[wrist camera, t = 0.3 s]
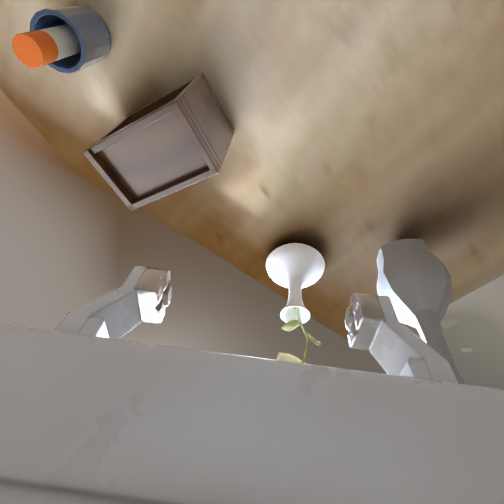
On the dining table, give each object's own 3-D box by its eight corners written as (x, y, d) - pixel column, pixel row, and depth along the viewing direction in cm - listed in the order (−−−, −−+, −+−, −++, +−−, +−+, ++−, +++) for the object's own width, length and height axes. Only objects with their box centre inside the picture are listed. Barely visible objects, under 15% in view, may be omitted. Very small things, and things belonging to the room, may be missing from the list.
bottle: (353, 243, 60) (388, 405, 37) (410, 208, 54) (494, 375, 32) (386, 276, 65) (436, 439, 42) (442, 247, 59) (536, 418, 36)
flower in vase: (255, 253, 64) (238, 369, 45) (304, 228, 59) (309, 347, 40) (290, 292, 70) (289, 408, 51) (338, 272, 65) (356, 393, 46)
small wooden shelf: (125, 116, 49) (82, 152, 39) (203, 72, 44) (176, 101, 34) (161, 167, 54) (130, 210, 44) (234, 133, 49) (218, 173, 39)
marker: (71, 19, 41) (7, 31, 32) (94, 23, 41) (37, 36, 32) (76, 46, 43) (18, 65, 34) (98, 50, 43) (46, 70, 34)
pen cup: (57, 1, 40) (21, 5, 35) (106, 9, 40) (78, 13, 35) (70, 57, 45) (39, 68, 39) (114, 64, 45) (90, 76, 39)
